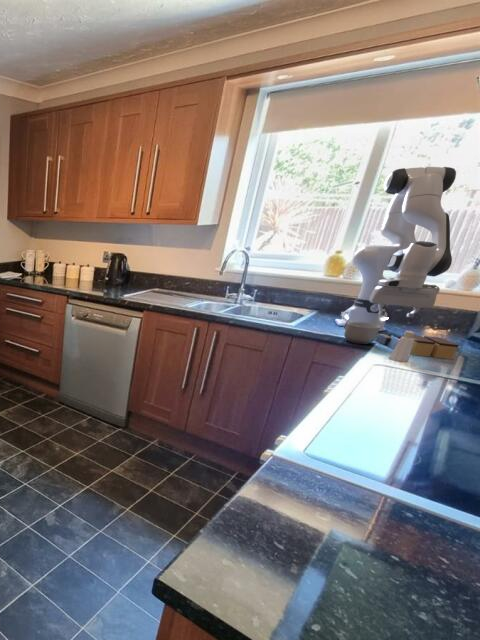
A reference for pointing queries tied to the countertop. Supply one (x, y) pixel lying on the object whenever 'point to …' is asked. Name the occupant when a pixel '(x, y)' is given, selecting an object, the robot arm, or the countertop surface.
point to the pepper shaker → (403, 347)
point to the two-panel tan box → (433, 347)
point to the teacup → (361, 332)
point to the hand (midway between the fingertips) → (394, 316)
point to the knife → (387, 340)
